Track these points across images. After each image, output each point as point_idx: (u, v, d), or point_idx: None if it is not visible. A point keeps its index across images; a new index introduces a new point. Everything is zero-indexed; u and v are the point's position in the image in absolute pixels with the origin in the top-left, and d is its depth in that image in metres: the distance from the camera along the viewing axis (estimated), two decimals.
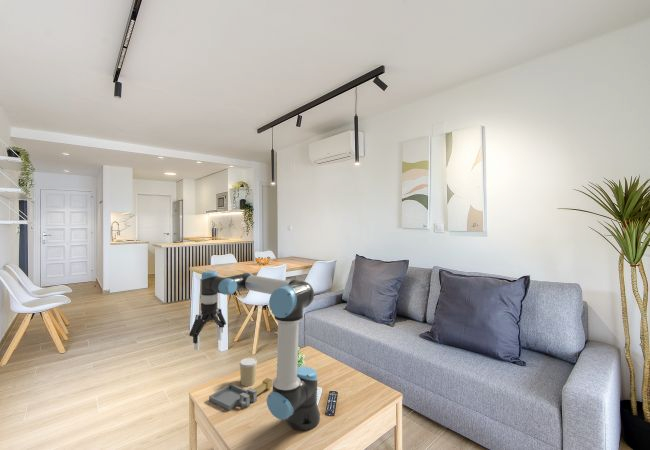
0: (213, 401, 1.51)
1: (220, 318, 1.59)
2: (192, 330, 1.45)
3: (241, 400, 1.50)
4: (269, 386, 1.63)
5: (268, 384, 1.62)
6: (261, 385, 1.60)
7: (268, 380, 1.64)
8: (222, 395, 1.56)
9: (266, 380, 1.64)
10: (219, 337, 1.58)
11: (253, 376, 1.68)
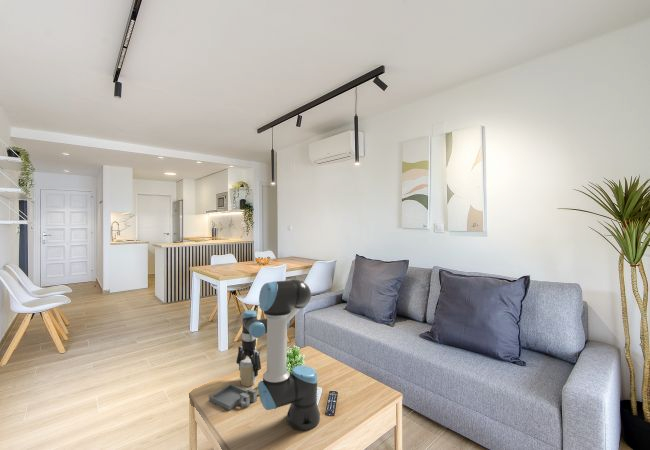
0: (213, 401, 1.51)
1: None
2: None
3: (241, 400, 1.50)
4: None
5: None
6: None
7: None
8: (222, 395, 1.56)
9: None
10: None
11: None
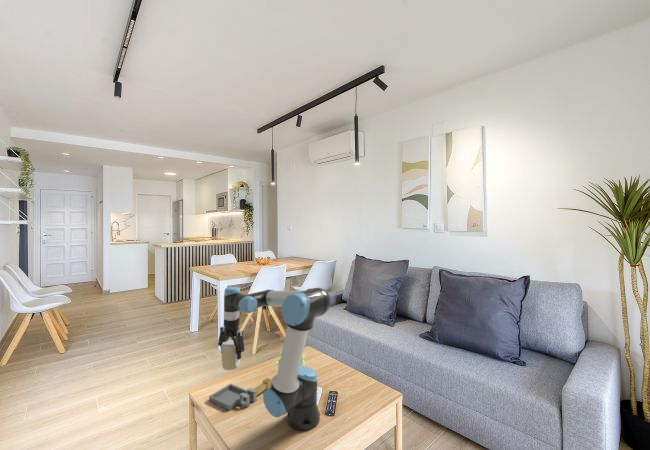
0: (213, 401, 1.51)
1: None
2: None
3: (241, 400, 1.50)
4: (269, 386, 1.63)
5: (268, 384, 1.62)
6: (261, 385, 1.60)
7: (268, 380, 1.64)
8: (222, 395, 1.56)
9: (266, 380, 1.64)
10: None
11: None
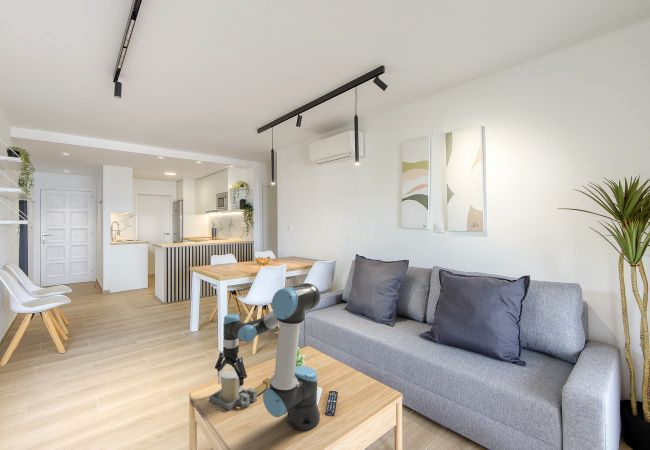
0: (213, 401, 1.51)
1: None
2: None
3: (241, 400, 1.50)
4: (269, 386, 1.63)
5: (268, 384, 1.62)
6: (261, 385, 1.60)
7: (268, 380, 1.64)
8: None
9: (266, 380, 1.64)
10: None
11: (235, 391, 1.52)
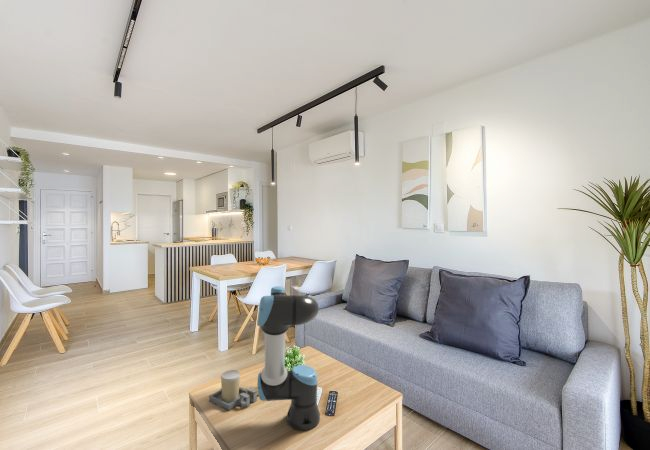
0: (213, 401, 1.51)
1: None
2: None
3: (241, 400, 1.50)
4: None
5: None
6: None
7: None
8: None
9: None
10: None
11: (235, 391, 1.52)
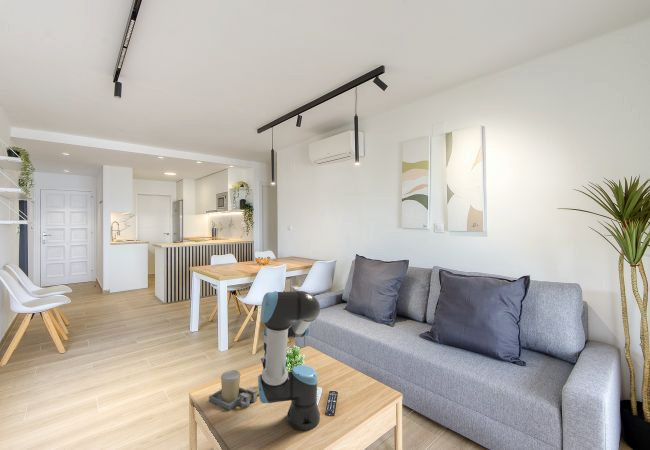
0: (213, 401, 1.51)
1: None
2: None
3: (241, 400, 1.50)
4: None
5: None
6: None
7: None
8: None
9: None
10: None
11: (235, 391, 1.52)
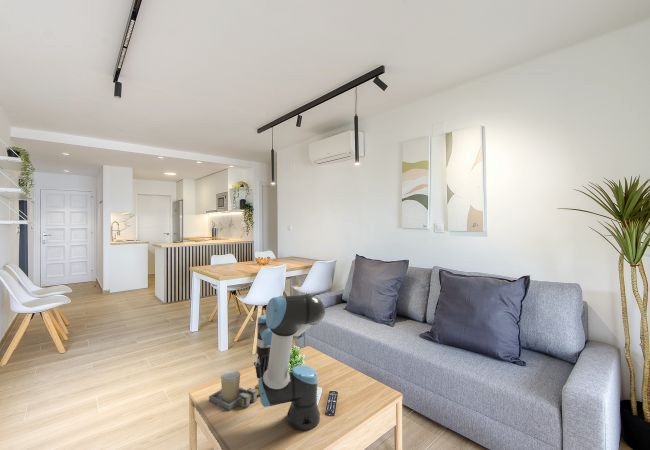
0: (213, 401, 1.51)
1: None
2: (258, 374, 1.58)
3: None
4: None
5: None
6: None
7: None
8: None
9: None
10: None
11: (235, 391, 1.52)
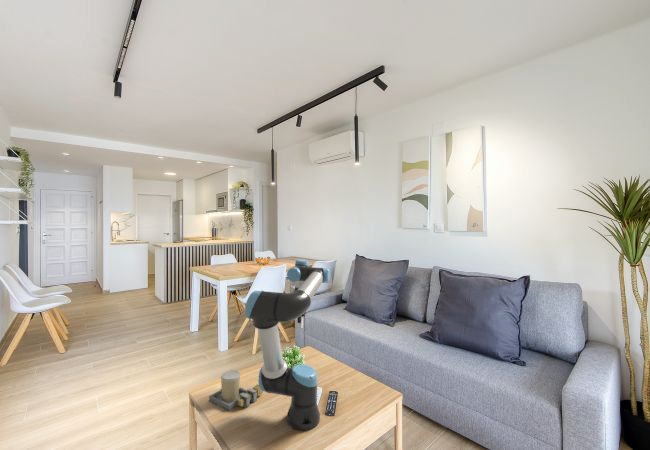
0: (213, 401, 1.51)
1: None
2: None
3: None
4: (259, 393, 1.57)
5: (258, 391, 1.56)
6: None
7: (258, 387, 1.58)
8: None
9: (256, 387, 1.58)
10: None
11: (235, 391, 1.52)
